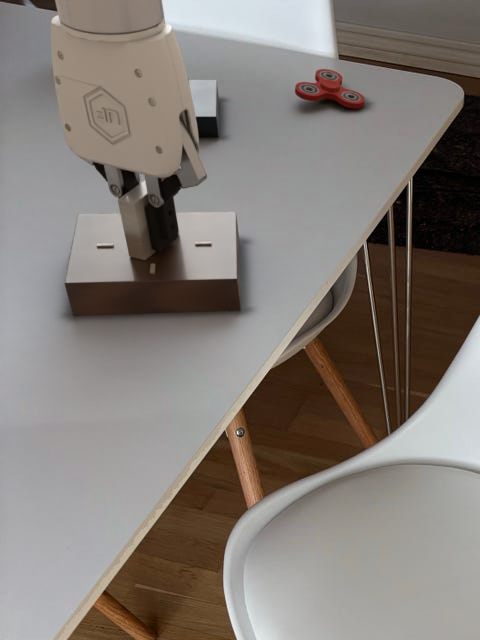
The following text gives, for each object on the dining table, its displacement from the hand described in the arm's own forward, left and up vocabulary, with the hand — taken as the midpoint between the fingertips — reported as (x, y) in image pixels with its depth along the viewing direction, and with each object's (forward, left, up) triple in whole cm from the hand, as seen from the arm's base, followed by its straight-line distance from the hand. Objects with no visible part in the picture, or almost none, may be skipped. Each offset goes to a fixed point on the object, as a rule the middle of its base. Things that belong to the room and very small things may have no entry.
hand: (153, 239), depth 88 cm
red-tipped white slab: (0, 0, 0) cm, 0 cm away
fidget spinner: (+19, +39, -2) cm, 43 cm away
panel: (0, 0, -4) cm, 4 cm away
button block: (-1, +34, -4) cm, 34 cm away
